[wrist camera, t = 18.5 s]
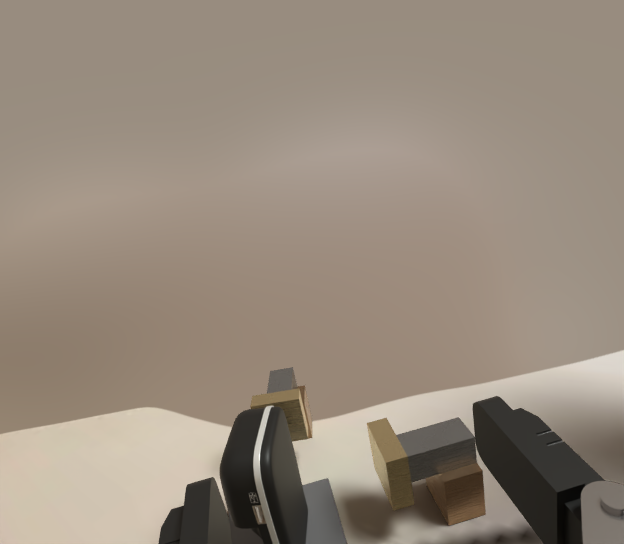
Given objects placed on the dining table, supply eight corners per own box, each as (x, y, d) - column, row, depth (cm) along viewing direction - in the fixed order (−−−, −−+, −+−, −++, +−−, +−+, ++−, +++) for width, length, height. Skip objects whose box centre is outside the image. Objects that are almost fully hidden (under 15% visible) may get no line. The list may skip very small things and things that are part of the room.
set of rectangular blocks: (291, 410, 51) (277, 351, 48) (497, 490, 36) (492, 411, 33) (238, 457, 45) (219, 393, 42) (456, 575, 30) (446, 488, 28)
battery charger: (265, 512, 37) (233, 400, 34) (309, 509, 37) (281, 394, 33) (249, 598, 31) (206, 470, 27) (302, 595, 30) (267, 464, 27)
